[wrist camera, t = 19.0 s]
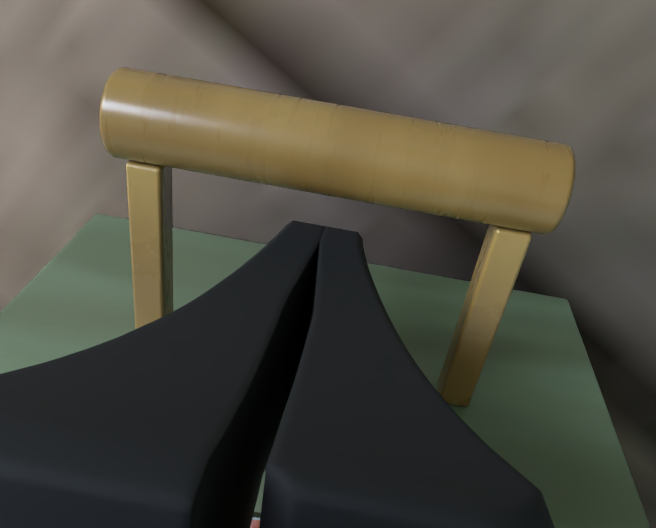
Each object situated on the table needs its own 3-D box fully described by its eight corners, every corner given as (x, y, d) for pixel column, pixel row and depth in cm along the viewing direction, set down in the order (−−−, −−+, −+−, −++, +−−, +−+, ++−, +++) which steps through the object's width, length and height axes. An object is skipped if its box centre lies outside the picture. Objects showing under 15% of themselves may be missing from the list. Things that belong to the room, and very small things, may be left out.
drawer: (75, -6, 13) (-203, 84, 7) (659, 94, 12) (869, 275, 7) (122, 502, 22) (22, 713, 17) (448, 567, 22) (459, 805, 16)
